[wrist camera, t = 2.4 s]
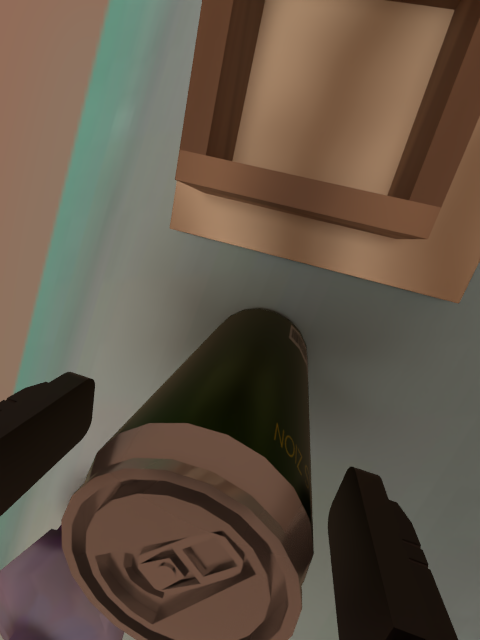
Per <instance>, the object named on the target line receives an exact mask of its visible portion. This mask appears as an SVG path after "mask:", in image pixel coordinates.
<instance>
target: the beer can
mask: <svg viewBox="0 0 480 640" xmlns="http://www.w3.org/2000/svg"><path fill="white" fill-rule="evenodd" d="M62 549H63V552H64V555H65V558H66V560H67V563H68V566H69V569H70V572H71V574H72V576H73V578H74V579H75V581H76V582H77V584H78V585H79V587H80V588H81V589H82V591H83V592H84V594H85V595H86V597H87V598H88V600H89V601H90V602H91V603H92V604H93V605H94V606H95V607H96V608H97V609H98V610H99V611H100V612H101V613H102V614H103V615H104V616H105V617H106V618H107V619H108V620H109V621H110V622H111V623H112V624H114V625H115V626H116V627H118V628H119V629H121V630H122V631H124V632H125V633H127V634H128V635H130V636H131V637H133V638H134V639H136V640H288V639H289V638H290V637H291V636H292V635H293V632H294V629H295V626H296V624H297V621H298V618H299V615H300V612H301V610H302V587H301V586H302V584H303V582H304V580H305V577H306V574H307V571H308V568H309V565H310V563H311V560H312V557H313V554H314V551H313V519H312V488H311V456H310V425H309V393H308V361H307V349H306V344H305V342H304V340H303V338H302V336H301V333H300V331H299V330H298V329H297V328H296V327H295V326H294V325H293V324H292V323H291V322H290V321H289V320H288V319H286V318H285V317H283V316H281V315H279V314H278V313H276V312H272V311H268V310H263V309H250V310H243V311H240V312H238V313H236V314H234V315H231V316H230V317H229V318H227V319H226V320H225V321H224V322H223V323H222V324H221V325H220V326H219V327H218V328H217V329H216V330H215V331H214V332H213V333H212V334H211V335H210V336H209V337H208V338H207V339H206V340H205V341H204V342H203V343H202V344H201V345H200V347H199V348H198V349H197V350H196V351H195V352H194V353H193V354H192V355H191V356H190V357H189V358H188V359H187V360H186V361H185V362H184V363H183V364H182V365H181V366H180V367H179V368H178V369H177V370H176V371H175V372H174V373H173V375H172V376H171V377H170V378H169V379H168V380H167V381H166V382H165V383H164V384H163V385H162V386H161V387H160V388H159V389H158V390H157V391H156V392H155V393H154V394H153V395H152V396H151V397H150V398H149V399H148V400H147V401H146V403H145V404H144V405H143V406H142V407H141V408H140V409H139V410H138V411H137V412H136V413H135V414H134V415H133V416H132V417H131V418H130V419H129V420H128V421H127V422H126V423H125V424H124V425H123V426H122V427H121V428H120V429H119V431H118V432H117V433H116V434H115V435H114V436H113V437H112V438H111V439H110V440H109V441H108V442H107V443H106V444H105V445H104V446H103V447H102V448H101V449H100V450H99V451H98V452H97V454H96V456H95V459H94V461H93V463H92V465H91V468H90V470H89V472H88V474H87V477H86V480H85V483H84V484H82V485H81V486H80V488H79V489H78V490H77V491H76V492H75V493H74V494H73V495H72V497H71V499H70V502H69V504H68V506H67V509H66V511H65V513H64V516H63V518H62Z"/></svg>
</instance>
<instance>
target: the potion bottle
mask: <svg viewBox="0 0 480 640" xmlns="http://www.w3.org/2000/svg"><path fill="white" fill-rule="evenodd" d="M0 634H1V636H2V638H3V639H4V640H122V638H123V634H124V631H122V630H121V629H119V628H118V627H116V626H115V625H114V624H112V623H111V622H110V621H109V620H108V619H107V618H106V617H105V616H104V615H103V614H102V613H101V612H100V611H99V610H98V609H97V608H96V607H95V606H94V605H93V604H92V603H91V602H90V601H89V600H88V598H87V597H86V595H85V594H84V592H83V591H82V589H81V588H80V587H79V585H78V584H77V582H76V581H75V579H74V578H73V576H72V574H71V572H70V569H69V566H68V563H67V560H66V558H65V555H64V552H63V549H62V525H61V526H60V527H59V528H58V530H54V529H51V530H50V531H48V532H47V533H46V534H45V535H44V536H42V537H41V538H40V539H39V540H37V541H36V542H35V543H34V544H32V545H31V546H30V547H29V548H28V549H26V550H25V551H24V552H23V553H21V554H20V555H19V556H18V557H17V558H15V559H14V560H13V561H12V562H10V563H9V564H8V565H7V566H5V567H4V568H3V569H2V570H1V571H0Z"/></svg>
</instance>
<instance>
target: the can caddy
mask: <svg viewBox="0 0 480 640" xmlns="http://www.w3.org/2000/svg"><path fill="white" fill-rule="evenodd" d="M175 180H177V184H176V191H175V197H174V204H173V210H172V217H171V223H170V229H174V230H178V231H182V232H186V233H190V234H194V235H197V236H201V237H205V238H209V239H213V240H217V241H220V242H224V243H228V244H232V245H236V246H240V247H244V248H247V249H251V250H255V251H259V252H263V253H267V254H270V255H274V256H278V257H282V258H286V259H290V260H294V261H297V262H301V263H305V264H309V265H313V266H317V267H321V268H324V269H328V270H332V271H336V272H340V273H344V274H347V275H351V276H355V277H359V278H363V279H367V280H371V281H374V282H378V283H382V284H386V285H390V286H394V287H397V288H401V289H405V290H409V291H413V292H417V293H421V294H424V295H428V296H432V297H436V298H440V299H444V300H448V301H451V302H455V303H459V302H460V300H461V298H462V296H463V294H464V292H465V290H466V288H467V286H468V284H469V282H470V280H471V277H472V275H473V273H474V271H475V269H476V267H477V265H478V263H479V261H480V0H202V6H201V12H200V19H199V26H198V32H197V39H196V45H195V52H194V58H193V65H192V71H191V78H190V85H189V91H188V98H187V104H186V111H185V117H184V124H183V130H182V137H181V144H180V150H179V157H178V163H177V170H176V176H175Z"/></svg>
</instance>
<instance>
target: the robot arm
mask: <svg viewBox="0 0 480 640" xmlns="http://www.w3.org/2000/svg"><path fill="white" fill-rule="evenodd" d="M94 391H95V382H94V380H93V379H90V378H87V377H84V376H81V375H78V374H75V373H72V372H67V373H64V374H63V375H61V376H59V377H58V378H56V379H54V380H53V381H51V382H49V383H48V382H44V383H40V384H37V385H34V386H30V387H27V388H24V389H22V390H21V391H19V392H17V393H15V394H14V395H12V396H10V397H8V398H7V400H6V401H5V400H3V401H1V402H0V516H1V515H2V514H3V513H4V512H5V511H7V510H8V509H9V508H10V507H11V506H12V505H13V504H14V503H15V502H16V501H17V500H18V499H19V498H20V497H21V496H22V495H23V494H25V493H26V492H27V491H28V490H29V489H30V488H31V487H32V486H33V485H34V484H35V483H36V482H37V481H38V480H39V479H40V478H41V477H43V476H44V475H45V474H46V473H47V472H48V471H49V470H50V469H51V468H52V467H53V466H54V465H55V464H56V463H57V462H58V461H60V460H61V459H62V458H63V457H64V456H65V455H66V454H67V453H68V452H69V451H70V450H71V449H72V448H73V447H74V446H75V445H76V444H78V443H79V442H80V441H81V440H82V438H83V437H84V436H85V434H86V433H87V431H88V429H89V427H90V424H91V421H92V412H93V402H94ZM328 535H329V545H330V555H331V565H332V574H333V584H334V594H335V604H336V614H337V623H338V633H339V640H458V638H457V636H456V633H455V631H454V628H453V625H452V623H451V620H450V618H449V615H448V613H447V610H446V608H445V605H444V603H443V600H442V598H441V595H440V593H439V590H438V588H437V585H436V583H435V580H434V578H433V575H432V573H431V570H430V569H428V562H427V560H426V557H425V555H424V552H423V550H421V549H420V546H421V545H420V542H419V540H418V537H417V535H416V532H415V530H414V527H413V525H412V523H411V521H410V520H409V519H408V517H407V516H406V514H405V513H404V512H403V510H402V509H401V508H400V506H399V505H398V503H397V502H394V501H391V500H389V499H388V497H387V494H386V491H385V488H384V485H383V482H382V479H381V478H380V476H378V475H376V474H373V473H370V472H367V471H364V470H361V469H358V468H355V467H350V468H349V469H348V470H347V472H346V474H345V476H344V478H343V481H342V483H341V485H340V487H339V489H338V492H337V494H336V496H335V498H334V500H333V503H332V505H331V508H330V512H329V518H328Z"/></svg>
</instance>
